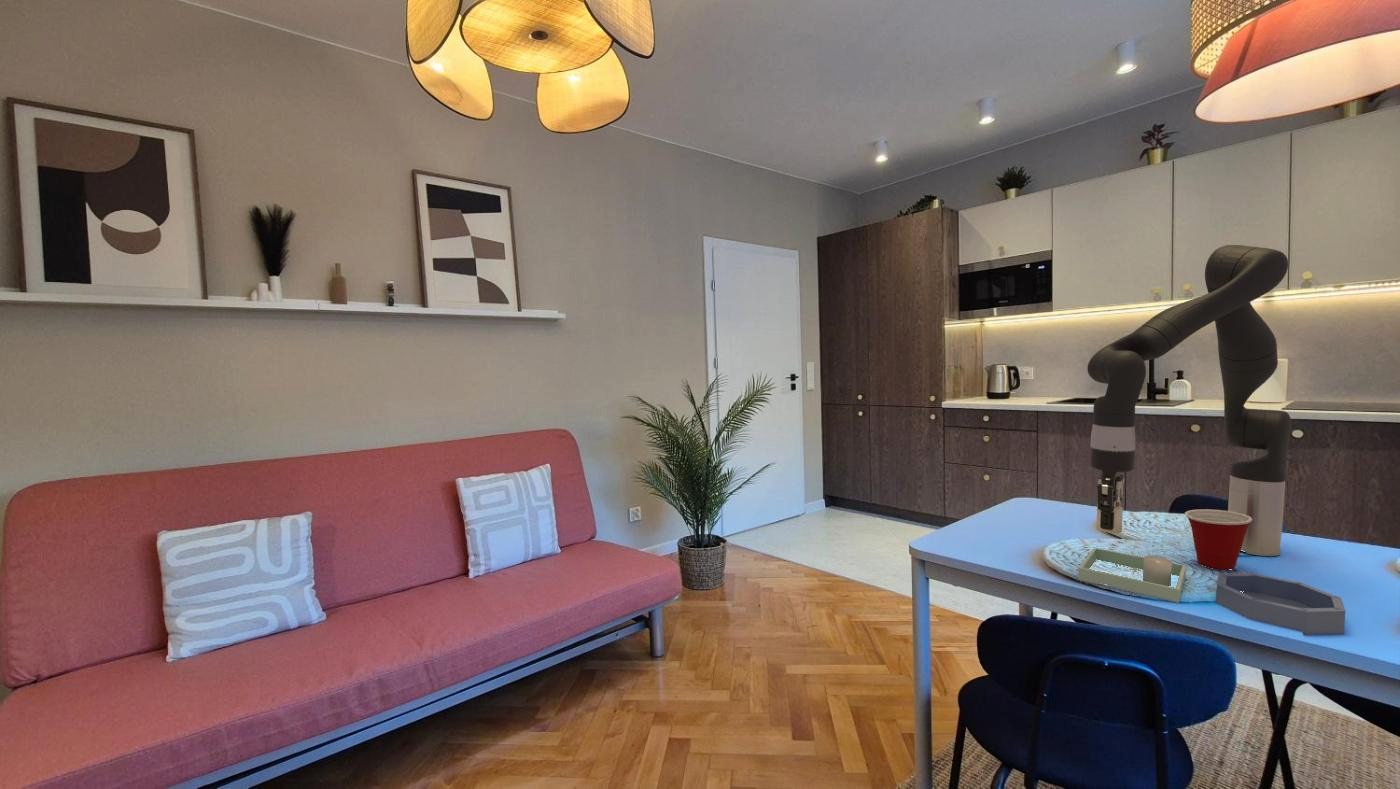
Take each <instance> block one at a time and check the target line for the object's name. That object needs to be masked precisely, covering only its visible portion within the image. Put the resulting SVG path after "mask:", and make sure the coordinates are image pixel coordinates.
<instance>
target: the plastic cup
mask: <svg viewBox="0 0 1400 789" xmlns="http://www.w3.org/2000/svg"><path fill="white" fill-rule="evenodd" d="M1184 514H1185V517H1186V518H1187V519H1188V521H1189V524H1190V528H1191V533H1192V539H1193V545H1194V549H1195V552H1196V553H1195V554H1196V560H1197V563H1199V564H1201V565H1203V566H1206V567H1209V568H1213V569H1219V570H1229V569H1234V568H1235V569H1236V565H1237V562H1238V559H1239V556H1240V554H1241V552H1240V551H1241V547H1242V544H1243V540H1244V537H1245V534H1246V531H1247V528H1248V525H1249V523H1250V522H1252V518H1251V517H1250V516H1247V515H1245V514H1241V513H1237V512H1231V511H1228V510H1223V509H1208V508H1205V509H1202V508H1201V509H1192V510H1187V511H1185V512H1184ZM1199 564H1198V565H1199ZM1201 565H1200V566H1201ZM1203 566H1202V567H1203ZM1206 567H1205V568H1206ZM1209 568H1208V569H1209ZM1213 569H1212V570H1213ZM1235 569H1234V570H1235ZM1219 570H1218V571H1219Z"/></svg>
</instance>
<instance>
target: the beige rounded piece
mask: <svg viewBox="0 0 1400 789" xmlns="http://www.w3.org/2000/svg"><path fill="white" fill-rule="evenodd" d="M1143 557H1144V568H1143V581H1146V582H1151V583H1155V584H1160V585H1164V586H1171V571H1172V563H1173V562H1172V560H1170V559H1169V558H1166V557H1162V556H1156V555H1145V556H1143Z"/></svg>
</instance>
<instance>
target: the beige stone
mask: <svg viewBox="0 0 1400 789" xmlns="http://www.w3.org/2000/svg"><path fill="white" fill-rule="evenodd" d="M1104 505H1109V506H1110V504H1105V503H1104ZM1123 512H1124V508H1123V507H1122V505H1120V506H1118V505H1115V512H1114V528H1113V530H1106V529H1102V528H1101V527H1100V520H1101V511H1100V510H1098V504H1097V505H1096V523H1095V524H1096V527H1095V529H1096V530H1097V531H1100V532H1104V533H1109V534H1121V533H1122V531H1123V518H1124V517H1123V516H1124V514H1123Z"/></svg>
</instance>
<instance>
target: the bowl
mask: <svg viewBox="0 0 1400 789" xmlns="http://www.w3.org/2000/svg"><path fill="white" fill-rule="evenodd" d="M1240 591H1242V592H1243V591H1244V592H1243V593H1242V592H1240ZM1343 602H1344V601H1343V599H1342V597H1339V596H1337V595H1334V594H1331V593H1329V592H1327V591H1324V590H1322V589H1319V588H1316V587H1313V586H1310V585H1309V584H1306V583H1303V582H1301V581H1295V580H1290V579H1289V580H1288V579H1284V578H1280V577H1274V576H1271V575H1270V576H1269V575H1264V574H1258V573H1253V572H1250V573H1249V572H1246V573H1245V572H1244V573H1242V572H1241V573H1236V572H1235V573H1218V574H1217V582H1216V591H1215V604H1217V605H1220V606H1221V607H1224V608H1225V609H1228V610H1229V611H1231V612H1234V613H1236V614H1238V615H1240V616H1242V617H1245V618H1246V619H1248V620H1251V621H1255V622H1259V623H1263V624H1268V625H1272V626H1276V627H1281V628H1286V629H1290V630H1294V631H1299V632H1302V635H1305V636H1306V635H1307V636H1312V635H1315V636H1316V635H1317V636H1318V635H1344V633H1345V623H1346V612H1347V610H1346V607H1345V605H1344V603H1343Z"/></svg>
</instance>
